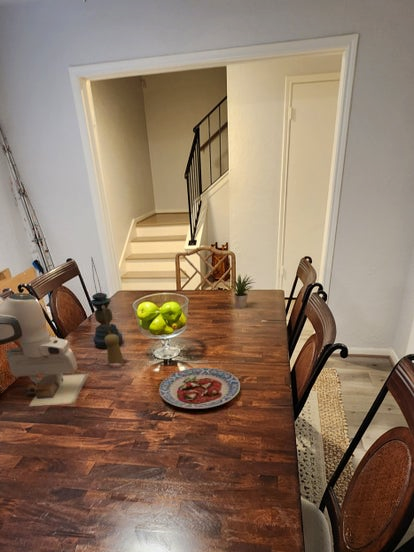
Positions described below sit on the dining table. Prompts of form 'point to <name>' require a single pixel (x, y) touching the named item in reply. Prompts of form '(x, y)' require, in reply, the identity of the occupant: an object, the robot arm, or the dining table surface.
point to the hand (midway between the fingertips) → (49, 385)
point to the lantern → (103, 318)
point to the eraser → (47, 386)
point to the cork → (113, 349)
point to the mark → (31, 394)
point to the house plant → (241, 291)
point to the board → (64, 391)
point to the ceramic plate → (199, 388)
